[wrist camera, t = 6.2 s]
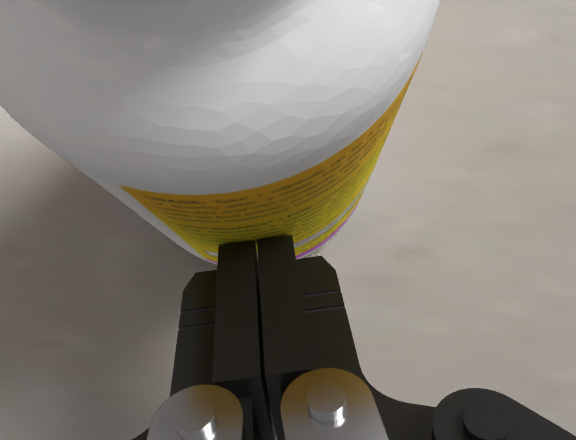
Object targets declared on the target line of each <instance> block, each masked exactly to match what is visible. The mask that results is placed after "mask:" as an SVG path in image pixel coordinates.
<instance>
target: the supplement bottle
mask: <svg viewBox="0 0 576 440" xmlns="http://www.w3.org/2000/svg"><path fill="white" fill-rule="evenodd" d="M439 2H440V0H0V105H1V106H2V107H3V108H4V109H5V110H6V112H7V113H8V114H9V115H10V116H11V117H12V118H13V119H14V120H15V121H17V122H18V123H19V124H20V125H21V126H22V127H23V128H24V129H26V130H27V131H28V132H29V133H30V134H32V135H33V136H34V137H36V138H37V139H38V140H39V141H41V142H42V143H43V144H44V145H46V146H47V147H48V148H50V149H51V150H53V151H54V152H55V153H57V154H58V155H59V156H61V157H62V158H64V159H65V160H66V161H68V162H69V163H70V164H72V165H73V166H75V167H76V168H77V169H79V170H80V171H82V172H83V173H84V174H86V175H87V176H88V177H90V178H91V179H93V180H94V181H95V182H96V183H98V184H99V185H100V186H102V187H103V188H104V189H106V190H107V191H108V192H110V193H111V194H112V195H114V196H115V197H116V198H118V199H119V200H120V201H122V202H123V203H124V204H126V205H127V206H128V207H129V208H131V209H132V210H133V211H135V212H136V213H137V214H138V215H140V216H141V217H142V218H144V219H145V220H146V221H147V222H149V223H150V224H151V225H153V226H154V227H155V228H156V229H158V230H159V231H160V232H162V233H163V234H164V235H166V236H167V237H168V238H170V239H171V240H172V241H174V242H175V243H176V244H178V245H179V246H181V247H182V248H184V249H185V250H187V251H188V252H190V253H191V254H193V255H195V256H197V257H199V258H201V259H203V260H205V261H208V262H210V263H213V264H216V265H218V247H219V245H221V244H228V243H236V242H243V241H251V240H254V241H255V244H256V250H257V256H258V249H257V240H258V239H265V238H272V237H280V236H287V235H292V237H293V243H294V250H295V256H296V259H301V258H304V257H306V256H307V255H309V254H311V253H313V252H314V251H316V250H317V249H319V248H320V247H322V246H323V245H324V244H326V243H327V242H328V241H329V240H330V239H332V238H333V237H334V236H335V235H336V234H337V233H338V232H339V230H340V229H341V228H342V227H343V226H344V224H345V223H346V222H347V220H348V219H349V218H350V216H351V215H352V213H353V211H354V210H355V208H356V206H357V205H358V203H359V200H360V198H361V196H362V194H363V192H364V189H365V187H366V185H367V183H368V180H369V178H370V176H371V173H372V171H373V169H374V167H375V164H376V162H377V159H378V157H379V155H380V152H381V150H382V148H383V145H384V143H385V140H386V138H387V136H388V133H389V131H390V129H391V126H392V124H393V121H394V119H395V117H396V114H397V112H398V110H399V107H400V105H401V103H402V100H403V98H404V96H405V93H406V91H407V89H408V86H409V84H410V82H411V79H412V77H413V75H414V72H415V70H416V68H417V65H418V63H419V61H420V58H421V56H422V54H423V51H424V48H425V45H426V42H427V40H428V37H429V34H430V31H431V28H432V25H433V22H434V19H435V16H436V12H437V9H438V6H439Z"/></svg>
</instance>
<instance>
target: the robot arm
mask: <svg viewBox="0 0 576 440" xmlns="http://www.w3.org/2000/svg"><path fill="white" fill-rule="evenodd" d="M257 249H258V256H257V250H256V244H255V241H254V240H251V241H243V242H236V243H228V244H221V245H219V247H218V265H217V270H213V271H205V272H198V273H195V275H194V276H193V277H192V279H191V280H190V282H189V283H188V285H187V286H186V288H185V289H184V291H183V297H182V305H181V315H180V321H179V331H178V337H177V345H176V353H175V360H174V368H173V376H172V384H171V392H170V397H169V398H168V399H167V400H166V401H165V402H164V403H163V404H162V405H161V406H160V407H159V409H158V410H157V411H156V413H155V415H154V417H153V418H152V421H151V424H150V428H148V429H147V430H146V431H145V432H143V433H142V434H140V435H139V436H137V437H136V438H134V439H132V440H276V437H277V440H576V436H574V435H573V434H571V433H569V432H567V431H566V430H564V429H562V428H561V427H559V426H557V425H556V424H554V423H552V422H551V421H549V420H547V419H545V418H544V417H542V416H540V415H539V414H537V413H535V412H534V411H532V410H530V409H528V408H527V407H525V406H523V405H522V404H520V403H518V402H517V401H515V400H513V399H511V398H510V397H508V396H506V395H504V394H501V393H498V392H496V391H492V390H488V389H481V388H468V389H462V390H459V391H456V392H453V393H451V394H449V395H448V396H446V397H445V398H444V399H443V400H441V402H440V403H439V404H438V406H437V407H430V406H424V405H417V404H410V403H405V402H400V401H397V400H394V399H391V398H389V397H387V396H385V395H383V394H382V393H380V392H379V391H377V390H376V389H375V388H374V387H373V386H371V385H370V383H369V382H368V381H367V380H366V378H365V377H364V375H363V373H362V371H361V368H360V365H359V361H358V357H357V353H356V349H355V345H354V341H353V337H352V333H351V329H350V325H349V321H348V317H347V313H346V309H345V307H344V301H343V298H342V294H341V290H340V286H339V282H338V278H337V274H336V270H335V269H334V268H333V267H332V266H331V265H330V264H329V263H328V262H327V261H326V260H325V259H324V258H323V257H322V256H316V257H309V258H301V259H296V256H295V250H294V243H293V237H292V235H287V236H280V237H272V238H265V239H258V240H257Z"/></svg>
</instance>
